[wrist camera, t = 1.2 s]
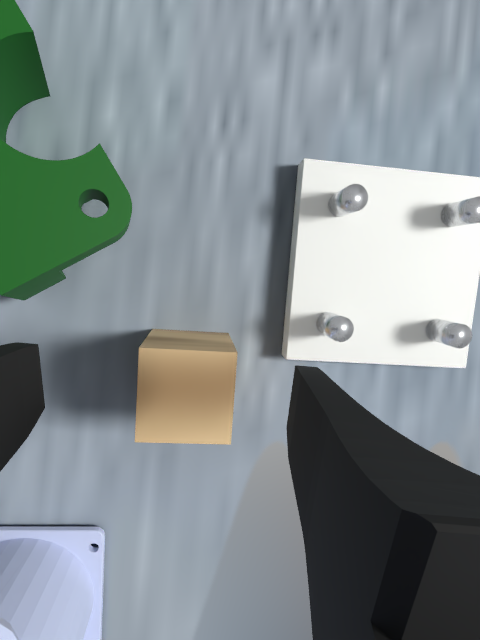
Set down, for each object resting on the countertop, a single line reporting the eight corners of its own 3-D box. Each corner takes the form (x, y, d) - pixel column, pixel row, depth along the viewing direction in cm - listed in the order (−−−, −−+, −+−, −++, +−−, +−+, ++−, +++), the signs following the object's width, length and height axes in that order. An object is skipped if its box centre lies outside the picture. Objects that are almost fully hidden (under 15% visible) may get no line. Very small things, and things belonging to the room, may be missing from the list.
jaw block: (223, 404, 22) (230, 444, 17) (149, 402, 22) (134, 442, 17) (228, 333, 22) (237, 352, 17) (152, 328, 21) (139, 347, 16)
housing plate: (451, 362, 23) (492, 378, 20) (281, 354, 22) (295, 369, 19) (477, 183, 22) (524, 169, 19) (298, 164, 21) (316, 146, 18)
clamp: (115, 226, 24) (164, 258, 17) (20, 274, 23) (30, 332, 15) (-16, -16, 18) (-29, -130, 11) (-160, 27, 16) (-289, -72, 9)
